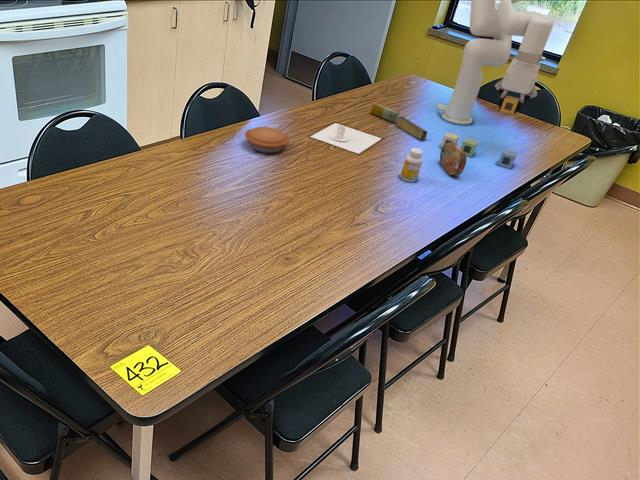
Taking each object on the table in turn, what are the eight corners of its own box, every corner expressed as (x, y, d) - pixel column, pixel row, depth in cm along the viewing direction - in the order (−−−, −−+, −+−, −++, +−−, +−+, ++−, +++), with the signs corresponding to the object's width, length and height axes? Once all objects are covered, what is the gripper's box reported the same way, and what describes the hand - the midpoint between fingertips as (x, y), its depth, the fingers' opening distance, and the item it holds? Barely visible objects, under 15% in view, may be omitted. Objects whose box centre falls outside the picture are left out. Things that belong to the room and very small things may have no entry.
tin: (437, 160, 202) (444, 137, 197) (445, 160, 202) (453, 138, 197) (452, 179, 190) (461, 156, 185) (461, 180, 191) (470, 156, 186)
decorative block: (425, 140, 216) (428, 131, 214) (420, 140, 215) (423, 131, 213) (400, 124, 227) (402, 116, 225) (395, 125, 226) (398, 116, 224)
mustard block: (499, 111, 204) (504, 98, 201) (502, 108, 207) (507, 95, 204) (512, 114, 202) (517, 101, 199) (515, 111, 205) (520, 98, 203)
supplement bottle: (400, 173, 190) (408, 145, 184) (417, 176, 190) (425, 149, 184) (399, 179, 186) (407, 151, 180) (416, 183, 185) (424, 155, 179)
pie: (292, 156, 193) (294, 142, 190) (247, 155, 190) (249, 141, 187) (282, 138, 205) (284, 124, 202) (240, 136, 202) (241, 123, 199)
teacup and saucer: (335, 131, 215) (337, 120, 212) (354, 137, 211) (356, 127, 209) (324, 137, 209) (326, 126, 206) (343, 144, 205) (346, 133, 203)
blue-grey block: (497, 164, 204) (502, 152, 201) (499, 160, 207) (504, 148, 204) (510, 168, 202) (515, 156, 199) (512, 164, 206) (517, 152, 203)
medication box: (397, 122, 229) (400, 112, 226) (393, 123, 227) (397, 113, 225) (373, 112, 235) (376, 102, 233) (369, 112, 233) (372, 102, 231)
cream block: (440, 147, 212) (444, 135, 209) (443, 144, 215) (447, 132, 212) (452, 151, 210) (456, 139, 207) (455, 147, 213) (459, 135, 210)
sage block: (458, 153, 209) (463, 141, 206) (462, 149, 212) (466, 137, 210) (471, 157, 207) (475, 145, 205) (474, 153, 211) (478, 141, 208)
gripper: (555, 61, 193) (533, 114, 204) (504, 50, 199) (486, 102, 210) (552, 65, 188) (530, 119, 199) (500, 54, 194) (481, 107, 205)
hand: (508, 110), depth 204 cm, fingers closed on mustard block, 4 cm apart
